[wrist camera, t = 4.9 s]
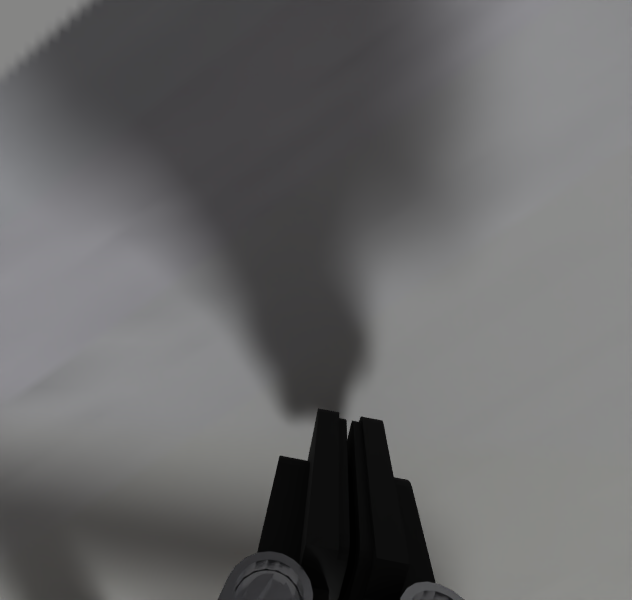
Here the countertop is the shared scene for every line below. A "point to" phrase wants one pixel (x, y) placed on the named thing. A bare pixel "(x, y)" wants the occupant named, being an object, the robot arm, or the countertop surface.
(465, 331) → the countertop surface
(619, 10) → the countertop surface
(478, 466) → the countertop surface
